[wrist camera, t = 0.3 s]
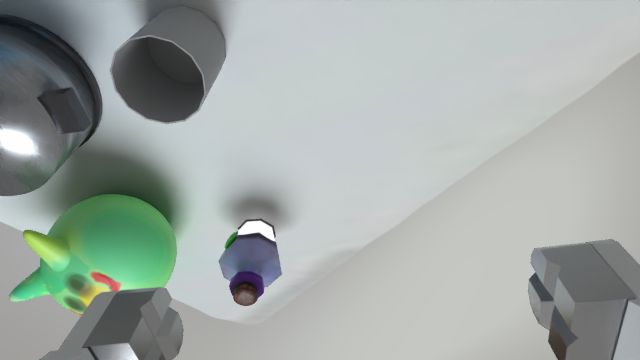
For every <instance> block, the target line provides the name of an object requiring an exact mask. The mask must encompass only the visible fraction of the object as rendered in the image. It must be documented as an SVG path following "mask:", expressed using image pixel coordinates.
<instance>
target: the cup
mask: <svg viewBox="0 0 640 360" xmlns="http://www.w3.org/2000/svg"><path fill="white" fill-rule="evenodd" d="M225 58H226V49H225V39H224V37H223V35H222V34H221V32H220V30H219V28H218V26H217V25H216V23H215V22H214V21H213V20H211V19H210V18H209V17H208V16H206V15H205V14H204V13H203V12H201V11H200V10H196V9H193V8H189V7H185V6H177V7H172V8H167V9H164V10H163V11H162V12H161V13H159V14H158V15H157V16H156V17H155V18H153V19H152V20H151V21H150V22H149V23H147V24H146V25H145V26H144V27H143V28H141V29H140V30H139V31H138V32H137V33H135V34H134V35H133V36H132V37H131V38H130V39H128V40H127V41H126V42H125V43H124V44H123V45H122V46H121V47H120V48H118V49H117V50H116V51H115V53H114V57H113V61H112V65H111V68H110V72H111V76H112V80H113V84H114V88H115V91H116V92H117V93H118V95H119V96H120V97H121V99H122V100H123V101H124V103H125V104H126V105H127V107H128V108H130V109H131V110H133V111H134V112H136V113H137V114H139V115H141V116H142V117H144V118H145V119H147V120H151V121H156V122H160V123H164V124H170V123H176V122H182V121H186V120H187V119H189V118H190V117H191V116H193V115H194V114H195V113H197V112H198V111H199V110H200V108H201V106H202V104H203V102H204V101H205V99H206V97H207V95H208V93H209V91H210V89H211V87H212V85H213V83H214V82H215V80H216V78H217V76H218V74H219V72H220V70H221V68H222V65H223V63H224V60H225Z"/></svg>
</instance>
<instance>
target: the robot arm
mask: <svg viewBox="0 0 640 360" xmlns="http://www.w3.org/2000/svg"><path fill="white" fill-rule="evenodd" d="M531 265H532V267H533V268H534V270H535V271H536V272H535V273H534V274H533V275H532V276H531V278H530V279H529V286H528V293H529V299H530V305H531V307H532V310H533V313H534V315H535V317H536V319H537V321H538V323H539V324H540V325H542V326H543V327H544V328H546V329H548V330H549V331H550V332H549V339H548V342H549V344H550V346H551V348H552V350H553V352H554V354H555V355H556V357H557V359H558V360H640V265H639V264H638V263H637V262H636V261H635V260H634V258H633V257H632V256H631V255H630V254H629V253H628V252H627V251H626V250H625V249H624V248H623V247H622V246H621V245H620V243H618V242H617V241H615V240H613V239H608V240H600V241H592V242H586V243H578V244H569V245H560V246H551V247H542V248H534V250H533V252H532V255H531ZM171 300H172V298H171V296H170V295H169V293H168V291H167V289H166V288H162V287H155V288H142V289H130V290H121V291H110V292H101V293H99V294H98V295H96V296H95V297H94V298H93V300H92V301H91V303H90V304H89V306H88V307H87V309H86V310H85V311H84V313H83V314H82V316H81V317H80V319H79V320H78V322H77V323H76V324H75V326H74V327H73V329H72V330H71V332H70V333H69V335H68V336H67V338H66V339H65V340H64V342H63V344H62V345H61V346H60V348H59V349H58V350H56V351H50V352H49V353H48V354H46V355H45V356H43V357H42V358H41V359H39V360H172V359H174V358H175V357H176V356H177V355H178V353H179V350H180V348H181V345H182V340H183V325H182V320H181V318H180V316H179V313H178V312H176V311H175V310H173V309H172V308H170V307H169V305H170V302H171Z"/></svg>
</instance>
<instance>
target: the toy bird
mask: <svg viewBox="0 0 640 360" xmlns="http://www.w3.org/2000/svg"><path fill="white" fill-rule="evenodd" d="M23 237H24V239H25V241H26V242H27V243H28V245H29V246H30V247H31V248H32V249H33V250H34V251H35V252H36V253H37V254H38V255H39V256H40V257H41V259H40V267H39V268H38V269H37V270H36V271H34V272H33V273H32V274H31V275H30V276H29V277H27V278H26V279H25V280H24V281H22V282H21V283H20V284H19V285H18V286H17V287H16V288H15V289H14V290H13V291H12V292H11V293H10V295H9V299H10V300H11V301H13V302H17V301H23V300H27V299H31V298H35V297H39V296H43V295H48V294H51V295H52V296H53V297H54V298H55V299H56V300H57V301H58V302H59V303H60V304H61V305H62V306H64V307H65V308H67V309H68V310H70V311H71V312H73V313H76V314H78V315H80V316H82V314H83V313H84V311H85V310H86V309H87V307H88V306H89V304H90V303H91V301H92V300H93V298H94V297H95V296H96V295H98V294H99V293H101V292H110V291H121V290H130V289H142V288H155V287H162V288H164V287H165V286H166V284H167V282H168V280H169V278H170V276H171V274H172V272H173V269H174V266H175V261H176V254H177V247H176V239H175V235H174V232H173V230H172V228H171V226H170V224H169V223H168V221H167V220H166V218H165V217H164V216H163V215H162V214H161V213H160V212H159V211H158V210H157V209H155V208H154V207H153V206H151V205H150V204H148V203H146V202H144V201H142V200H140V199H137V198H134V197H131V196H127V195H120V194H104V195H98V196H94V197H90V198H87V199H85V200H83V201H81V202H79V203H77V204H75V205H74V206H72V207H71V208H69V209H68V210H67V211H66V212H64V213H63V214H62V215H61V216H60V217H59V219H58V220H57V221H56V222H55V223H54V225H53V226H52V228H51V229H50V231H49V233H48V235H45V234H42V233H39V232H36V231H32V230H25V231H24V232H23Z"/></svg>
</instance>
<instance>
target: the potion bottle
mask: <svg viewBox="0 0 640 360" xmlns="http://www.w3.org/2000/svg"><path fill="white" fill-rule="evenodd" d="M238 230H239V231H237V232H234V233H233V234H232V235H231V236H230V237H229V239H228V240H227V242H226V244H225V251H224V253H223V254H222V256H221V258H220V259H219V264H220V267H221V270H222V273H223V276H224V278H226V279H227V280H229V281H230V285H229V287H230V290H231V293H232V295H233V298H234V301H235V302H236V303H237V304H240V305H243V306H249V305H252V304H254V303H255V302H256V301H257V299H258V298H259V297H260V296H261V295H262V294H263V293H264V287H268V286H269V285H270V284H271V283H272V282H274V281H275V280H276V279H277V278H278V277H279V276H280V275H282V273H281V267H280V261H279V255H278V250H277V245H276V242H275V240H274V238H275V237H276V236H275V231H274V227H273V226H272V225H271V224H269V223H267V222H266V221H264V220H262V219H250V220H246V221H245V222H244V223H243V224H242V225H241V226H240V227H239V228H238Z"/></svg>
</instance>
